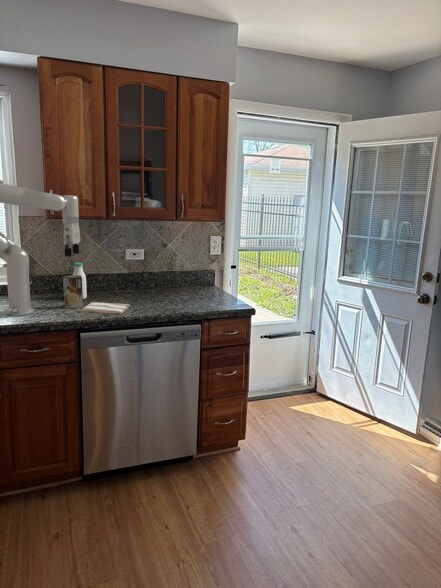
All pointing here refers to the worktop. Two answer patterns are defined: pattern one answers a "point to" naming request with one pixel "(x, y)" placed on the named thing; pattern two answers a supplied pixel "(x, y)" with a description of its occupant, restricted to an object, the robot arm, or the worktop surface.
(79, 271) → the milk bottle
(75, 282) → the coffee box
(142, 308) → the worktop surface
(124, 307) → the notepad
